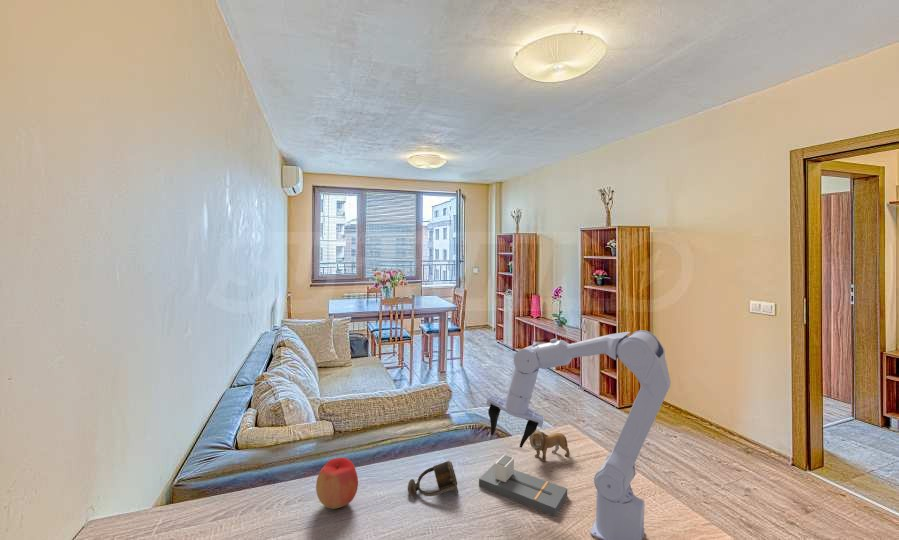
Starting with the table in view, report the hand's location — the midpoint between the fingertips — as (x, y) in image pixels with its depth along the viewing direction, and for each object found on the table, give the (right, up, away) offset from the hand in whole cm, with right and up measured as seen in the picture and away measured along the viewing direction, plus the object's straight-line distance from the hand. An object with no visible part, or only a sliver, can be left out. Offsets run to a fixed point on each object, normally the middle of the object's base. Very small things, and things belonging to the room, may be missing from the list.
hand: (506, 439), depth 99 cm
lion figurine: (+15, -12, +14) cm, 24 cm away
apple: (-41, -13, -7) cm, 44 cm away
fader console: (+4, -12, -2) cm, 13 cm away
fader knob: (0, -10, +1) cm, 10 cm away
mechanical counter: (-19, -13, -1) cm, 23 cm away
